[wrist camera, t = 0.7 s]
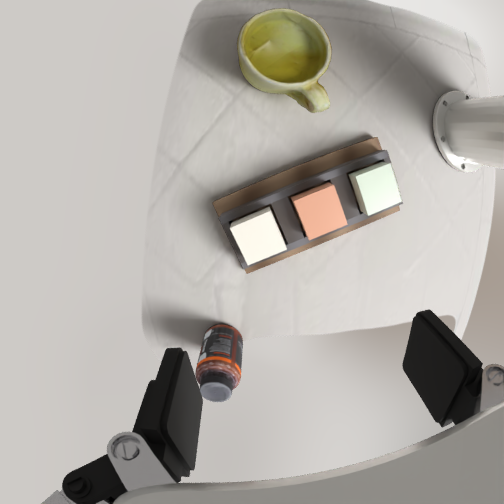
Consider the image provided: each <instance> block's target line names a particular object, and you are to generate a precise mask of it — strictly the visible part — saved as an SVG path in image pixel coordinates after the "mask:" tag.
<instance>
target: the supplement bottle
mask: <svg viewBox="0 0 504 504" xmlns="http://www.w3.org/2000/svg"><path fill="white" fill-rule="evenodd" d="M242 348H243V340H242V336H241V334H240V333H239V331H238V330H236V329H235V328H234V327H232V326H229V325H223V324H220V325H215V326H213V327H211V328H209V329H208V330H207V331H206V333H205V336H204V339H203V343H202V347H201V351H200V356H199V359H198V363H197V368H196V379H197V381H198V383H199V384H200V392H201V395H202V396H203V397H204V398H205V399H207V400H210V401H213V402H223V401H226V400H228V399H229V398H230V397H231V395H232V390H233V389H234V388H236V387H237V386H238V384H239V382H240V378H241V365H242Z"/></svg>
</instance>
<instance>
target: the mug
mask: <svg viewBox="0 0 504 504" xmlns="http://www.w3.org/2000/svg"><path fill="white" fill-rule="evenodd" d="M237 50H238V55H239V64H240V68H241V71H242V73H243V75H244V77H245V78H246V79H247V81H248V82H249V83H250V84H251V85H252V86H254V87H255V88H257V89H258V90H261V91H264V92H267V93H277V94H286V95H288V96H290V97H292V98H293V99H295V100H296V101H297V102H298V103H299V104H300V105H301V106H302V107H305V108H306V109H307V110H308V111H310V112H311V113H315V112H322V111H324V110H326V109H328V108H329V107H330V101H329V99H328V95H327V93H326V91H325V89H324V87H323V86H322V85H320V84H319V83H318V79H319V78H320V77H321V76H322V75H323V74H324V72H325V71H326V70H327V68H328V66H329V63H330V60H331V53H332V51H331V44H330V41H329V38H328V36H327V34H326V32H325V30H324V29H323V27H322V26H321V25H320V24H319V23H317V22H316V21H315V20H314V19H313V18H311V17H308V16H305V15H303V14H301V13H299V12H297V11H295V10H291V9H286V8H279V9H271V10H267V11H264V12H262V13H259V14H256V15H254V16H253V17H252V18H251V19H249V21H248V22H246V23H245V24H244V25H243V26H242V28H241V30H240V33H239V36H238V40H237Z"/></svg>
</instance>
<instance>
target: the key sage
mask: <svg viewBox="0 0 504 504" xmlns="http://www.w3.org/2000/svg"><path fill="white" fill-rule="evenodd" d="M349 177H350V180H351V183H352V186H353V189H354V192H355V195H356V198H357V201H358V204H359V207H360V210H361V212H363V213H365V214H366V215H368V216H369V215H371V214H374V213H376V212H379V211H381V210H383V209H386V208H388V207H390V206H393V205H395V204H397V203H400V202H402V200H401V196H400V192H399V189H398V185H397V182H396V178H395V175H394V172H393V168H392V165H391V163H387V162H380V163H377V164H375V165H372V166H369V167H367V168H364V169H362V170H359V171H356V172H354V173H351V174H349Z"/></svg>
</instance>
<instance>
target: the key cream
mask: <svg viewBox="0 0 504 504" xmlns="http://www.w3.org/2000/svg"><path fill="white" fill-rule="evenodd" d="M230 230H231V232H232V234H233V236H234V238H235V240H236V242H237V244H238V246H239V248H240V250H241V252H242V254H243V256H244V258H245V261H246V263H247V265H250V264H253V263H255V262H258V261H260V260H263V259H265V258H268V257H270V256H272V255H275V254H277V253H280V252H282V251H285V250H287V248H286V245H285V242H284V239H283V237H282V235H281V232H280V230H279V228H278V225H277V223H276V221H275V218H274V216H273V214H272V212H271V209H270V207H267V208H265V209H262V210H260V211H258V212H255V213H253V214H251V215H248V216H246V217H244V218H241V219H239V220H237V221H234V222H232V223H231V226H230Z"/></svg>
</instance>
